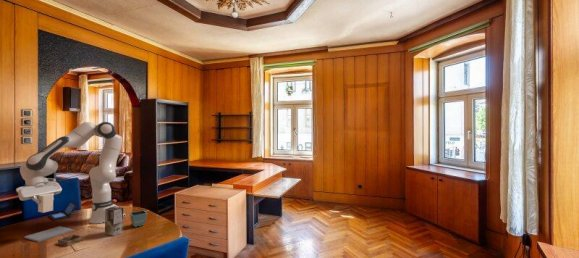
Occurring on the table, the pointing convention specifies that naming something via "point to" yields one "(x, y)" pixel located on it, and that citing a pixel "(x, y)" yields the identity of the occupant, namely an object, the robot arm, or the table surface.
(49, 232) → the slate board
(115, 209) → the coffee box
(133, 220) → the flower pot
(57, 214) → the handheld game console
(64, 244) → the walnut pocket
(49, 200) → the cream block
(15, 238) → the table surface
